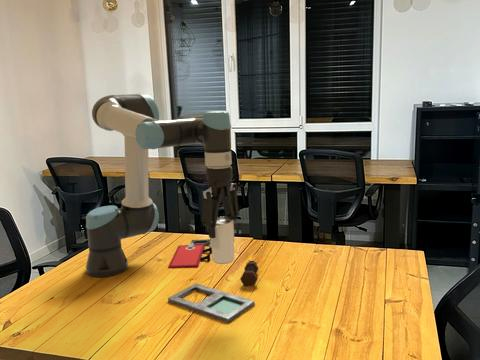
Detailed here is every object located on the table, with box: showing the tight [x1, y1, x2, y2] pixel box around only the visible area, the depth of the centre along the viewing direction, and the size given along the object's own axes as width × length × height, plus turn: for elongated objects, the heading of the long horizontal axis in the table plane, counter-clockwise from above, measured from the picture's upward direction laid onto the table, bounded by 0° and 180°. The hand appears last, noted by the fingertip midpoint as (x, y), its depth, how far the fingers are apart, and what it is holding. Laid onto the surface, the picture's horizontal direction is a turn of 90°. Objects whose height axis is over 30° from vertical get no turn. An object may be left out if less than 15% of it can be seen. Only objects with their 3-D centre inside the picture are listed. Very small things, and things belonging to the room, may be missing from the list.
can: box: [211, 217, 235, 265], centre depth 129 cm, size 6×6×12 cm
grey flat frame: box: [167, 283, 256, 324], centre depth 137 cm, size 24×13×1 cm, turn 53°
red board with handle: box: [167, 238, 212, 269], centre depth 181 cm, size 30×3×15 cm
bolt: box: [240, 260, 259, 287], centre depth 155 cm, size 6×5×15 cm
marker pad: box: [210, 299, 241, 314], centre depth 133 cm, size 8×8×1 cm
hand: (222, 244), depth 130 cm, fingers closed on can, 6 cm apart
